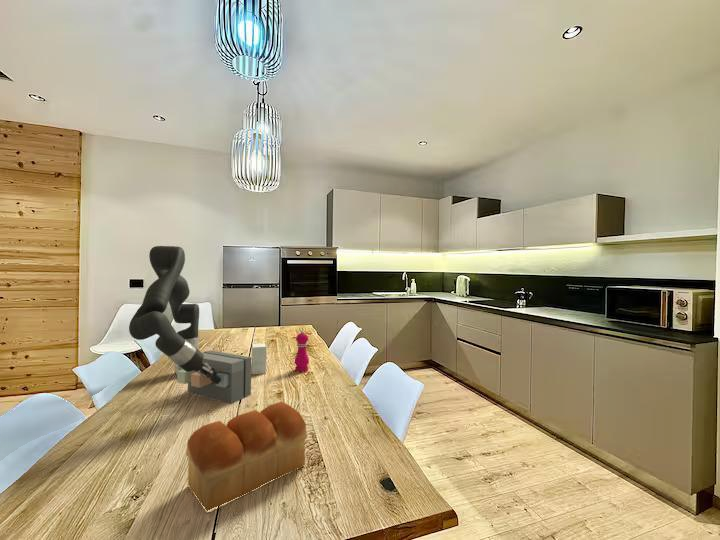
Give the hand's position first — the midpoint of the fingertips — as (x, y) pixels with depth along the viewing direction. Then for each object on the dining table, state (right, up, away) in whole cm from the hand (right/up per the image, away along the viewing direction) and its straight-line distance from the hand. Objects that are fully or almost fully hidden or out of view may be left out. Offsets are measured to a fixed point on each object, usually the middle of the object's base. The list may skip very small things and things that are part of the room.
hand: (218, 381), depth 121 cm
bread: (+26, -9, -42) cm, 50 cm away
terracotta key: (-7, -2, +4) cm, 8 cm away
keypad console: (-4, -8, +10) cm, 14 cm away
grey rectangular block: (+2, -2, +4) cm, 5 cm away
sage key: (-14, -2, +7) cm, 16 cm away
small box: (+3, -9, +39) cm, 40 cm away
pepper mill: (+23, -9, +42) cm, 49 cm away
